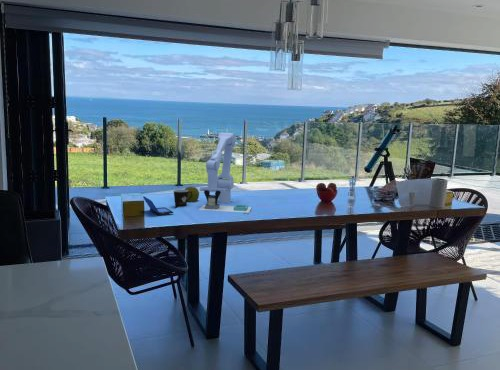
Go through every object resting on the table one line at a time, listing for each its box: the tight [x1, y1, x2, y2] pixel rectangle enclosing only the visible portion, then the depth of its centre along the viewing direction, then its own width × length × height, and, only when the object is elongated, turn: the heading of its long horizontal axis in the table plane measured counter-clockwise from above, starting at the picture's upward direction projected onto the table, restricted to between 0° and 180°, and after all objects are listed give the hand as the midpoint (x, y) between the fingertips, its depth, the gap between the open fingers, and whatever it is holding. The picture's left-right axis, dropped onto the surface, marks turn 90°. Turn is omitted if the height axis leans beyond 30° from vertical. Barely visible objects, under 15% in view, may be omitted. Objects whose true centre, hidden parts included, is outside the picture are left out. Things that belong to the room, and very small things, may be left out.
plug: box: [208, 194, 216, 206], centre depth 272 cm, size 4×4×7 cm
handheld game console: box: [142, 195, 175, 217], centre depth 261 cm, size 16×13×9 cm
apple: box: [184, 186, 200, 203], centre depth 290 cm, size 10×10×11 cm
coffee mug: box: [173, 188, 192, 209], centre depth 276 cm, size 12×9×10 cm
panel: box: [198, 203, 253, 215], centre depth 272 cm, size 14×29×3 cm, turn 83°
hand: (212, 203), depth 273 cm, fingers closed on plug, 4 cm apart
